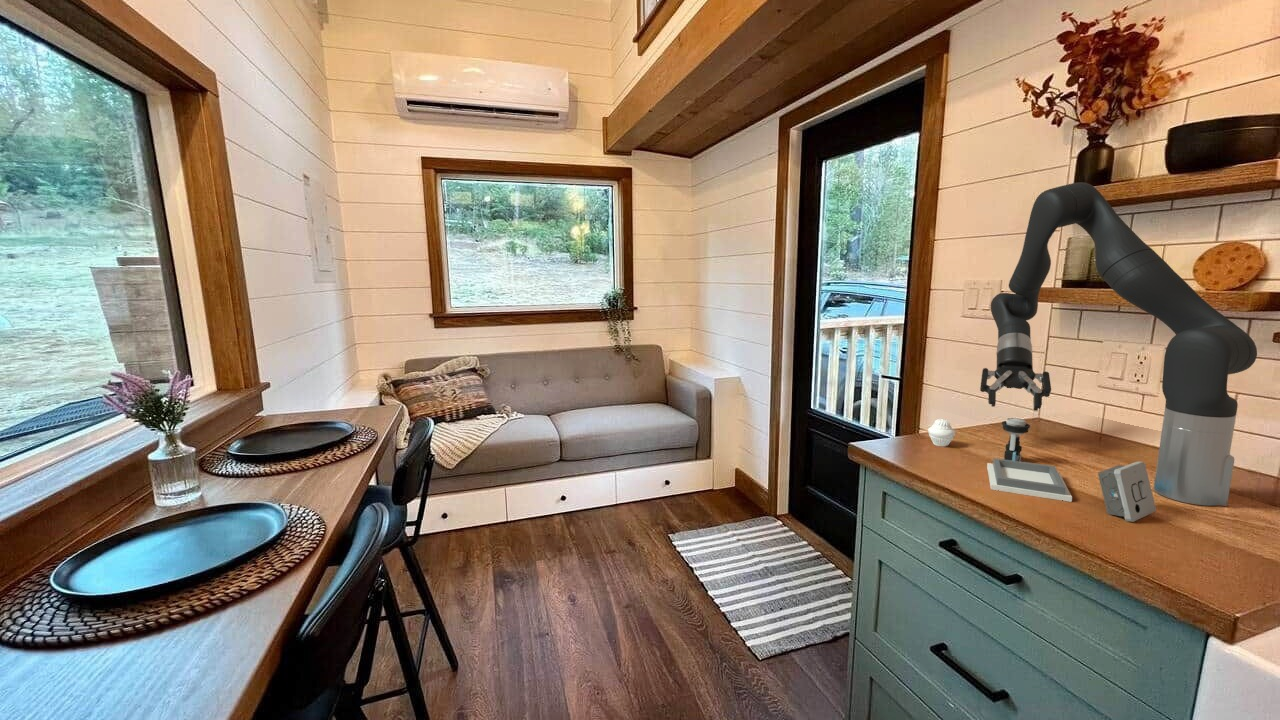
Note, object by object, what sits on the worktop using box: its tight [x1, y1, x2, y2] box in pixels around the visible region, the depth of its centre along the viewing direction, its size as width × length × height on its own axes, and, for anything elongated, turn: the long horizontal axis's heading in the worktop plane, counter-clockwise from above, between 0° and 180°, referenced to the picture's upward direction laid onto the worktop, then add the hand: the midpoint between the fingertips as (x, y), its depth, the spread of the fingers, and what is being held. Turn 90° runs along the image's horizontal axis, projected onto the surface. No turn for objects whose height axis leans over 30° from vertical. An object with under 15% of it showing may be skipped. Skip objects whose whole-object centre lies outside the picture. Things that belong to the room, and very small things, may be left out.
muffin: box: [927, 418, 956, 448], centre depth 133 cm, size 6×6×7 cm
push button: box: [1001, 417, 1031, 462], centre depth 121 cm, size 7×5×10 cm
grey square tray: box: [986, 457, 1073, 503], centre depth 109 cm, size 13×14×2 cm
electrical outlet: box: [1097, 461, 1157, 523], centre depth 95 cm, size 9×5×9 cm, turn 116°
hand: (1014, 406), depth 126 cm, fingers open, 8 cm apart
